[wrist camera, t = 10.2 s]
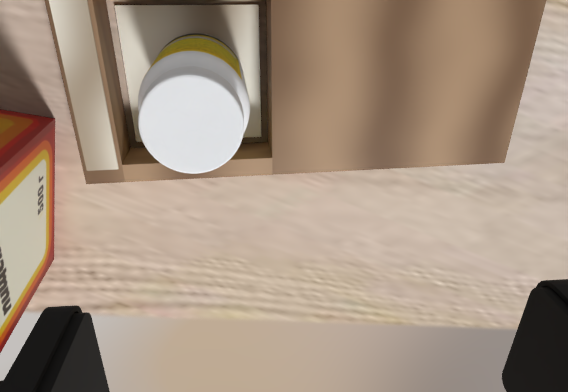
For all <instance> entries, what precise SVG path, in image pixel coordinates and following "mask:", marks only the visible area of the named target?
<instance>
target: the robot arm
mask: <svg viewBox="0 0 568 392" xmlns="http://www.w3.org/2000/svg"><path fill="white" fill-rule="evenodd" d="M502 380H503V385H504V388H505V389H506V391H507V392H568V279H564V280H546V281H541V282H540V283H538V285H537V287H536V288H534V289H533V290H532V291H531V293H530V295H529V298H528V301H527V304H526V307H525V310H524V312H523V315H522V318H521V321H520V324H519V327H518V330H517V332H516V335H515V338H514V341H513V344H512V347H511V350H510V353H509V355H508V358H507V361H506V364H505V367H504V370H503V373H502ZM0 392H109V388H108V384H107V380H106V375H105V371H104V367H103V363H102V359H101V355H100V351H99V347H98V343H97V338H96V334H95V330H94V326H93V323H92V318H91V315H90V314H89V313H82V311H81V308H80V307H79V306H61V307H47V308H46V309H45V310H44V311H43V312H42V314H41V315H40V317H39V319H38V321H37V323H36V324H35V326H34V328H33V330H32V331H31V333H30V335H29V337H28V339H27V340H26V342H25V344H24V346H23V347H22V349H21V351H20V353H19V354H18V356H17V358H16V360H15V362H14V363H13V365H12V367H11V369H10V370H9V373H8V374H7V376H6V377H5V379H4V380H3V381H0Z"/></svg>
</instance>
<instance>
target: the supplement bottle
mask: <svg viewBox="0 0 568 392" xmlns="http://www.w3.org/2000/svg"><path fill="white" fill-rule="evenodd" d="M138 110H139V115H138V127H139V132H140V136H141V139H142V141H143V143H144V145H145V147H146V148H147V150H148V151H149V152H150V154H151V155H152V156H153V157H154V158H155V159H156V160H157V161H159V162H160V163H161V164H163V165H164V166H166V167H168V168H170V169H173V170H175V171H178V172H183V173H191V174H197V173H204V172H208V171H212V170H214V169H217V168H219V167H220V166H222V165H223V164H225V163H226V162H227V161H229V160H230V159H231V158H232V156H233V155H234V154H235V153H236V151H237V150H238V148H239V146H240V144H241V141H242V138H243V134H244V132H245V130H246V128H247V125H248V121H249V115H250V100H249V95H248V91H247V87H246V83H245V78H244V73H243V70H242V66H241V63H240V61H239V59H238V57H237V56H236V54H235V53H234V51H233V50H232V49H231V48H230V47H229V46H228V45H227V44H226V43H225V42H223V41H222V40H220V39H219V38H217V37H215V36H212V35H209V34H205V33H189V34H185V35H181V36H179V37H177V38H175V39H174V40H172V41H170V42H169V43H168V44H167V45H166V46H165V47H164V48H163V49H162V50H161V52H160V53H159V55H158V57H157V58H156V60H155V61H154V63H153V64H152V65H151V67H150V68H149V70H148V71H147V73H146V74H145V76H144V78H143V80H142V83H141V86H140V90H139V95H138Z"/></svg>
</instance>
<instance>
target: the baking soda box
mask: <svg viewBox="0 0 568 392" xmlns="http://www.w3.org/2000/svg"><path fill="white" fill-rule="evenodd" d="M54 179H55V119H54V118H48V117H42V116H36V115H31V114H25V113H19V112H13V111H7V110H1V109H0V353H1V351H2V349H3V347H4V346H5V344H6V342H7V340H8V339H9V337H10V335H11V333H12V331H13V330H14V328H15V326H16V325H17V323H18V321H19V319H20V318H21V316H22V314H23V312H24V311H25V309H26V307H27V305H28V304H29V302H30V300H31V298H32V297H33V295H34V293H35V291H36V290H37V288H38V286H39V284H40V283H41V281H42V279H43V277H44V276H45V274H46V272H47V270H48V269H49V267H50V265H51V263H52V262H53V260H54Z"/></svg>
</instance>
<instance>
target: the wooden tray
mask: <svg viewBox="0 0 568 392" xmlns="http://www.w3.org/2000/svg"><path fill="white" fill-rule="evenodd" d="M545 3H546V0H266V41H267V116H268V142H262V143H241V144H240V146H239V148H238V150H237V151H236V153H235V154H234V155H233V156H232V158H231V159H230V160H229V161H227V162H226V163H225V164H223V165H222V166H220V167H219V168H217V169H214V170H212V171H208V172H204V173H197V174H191V173H183V172H178V171H175V170H173V169H170V168H168V167H166V166H164V165H163V164H161V163H160V162H159V161H157V160H156V159H155V158H154V157H153V156H152V155H151V154H150V152H149V151H148V150H147V148H146V147H143V148H130V142H129V136H128V130H127V124H126V118H125V112H124V106H123V100H122V94H121V88H120V82H119V76H118V71H117V65H116V59H115V53H114V47H113V41H112V35H111V29H110V23H109V17H108V11H107V5H106V0H45V4H46V8H47V12H48V17H49V21H50V26H51V30H52V34H53V39H54V43H55V48H56V52H57V57H58V61H59V65H60V70H61V74H62V79H63V83H64V87H65V92H66V96H67V101H68V105H69V109H70V114H71V118H72V123H73V127H74V131H75V136H76V140H77V145H78V149H79V153H80V158H81V162H82V167H83V171H84V175H85V180H86V184H96V183H116V182H135V181H155V180H175V179H194V178H214V177H233V176H253V175H273V174H292V173H312V172H331V171H351V170H371V169H390V168H410V167H430V166H449V165H469V164H488V163H504V162H505V158H506V154H507V150H508V147H509V143H510V139H511V135H512V131H513V127H514V123H515V119H516V115H517V112H518V108H519V104H520V100H521V96H522V92H523V88H524V84H525V81H526V77H527V73H528V69H529V65H530V61H531V57H532V53H533V49H534V46H535V42H536V38H537V34H538V30H539V26H540V22H541V18H542V15H543V11H544V7H545ZM114 6H115V12H116V18H117V25H118V31H119V37H120V43H121V50H122V56H123V62H124V68H125V74H126V81H127V87H128V93H129V99H130V106H131V112H132V118H133V124H134V131H135V137H136V142H143V141H142V139H141V136H140V132H139V127H138V115H139V110H138V95H139V90H140V86H141V83H142V80H143V78H144V76H145V74H146V73H147V71H148V70H149V68H150V67H151V65H152V64H153V63H154V61H155V60H156V58H157V57H158V55H159V53H160V52H161V50H162V49H163V48H164V47H165V46H166V45H167V44H168V43H169V42H170V41H172V40H174V39H175V38H177V37H179V36H181V35H185V34H189V33H205V34H209V35H212V36H215V37H217V38H219V39H220V40H222V41H223V42H225V43H226V44H227V45H228V46H229V47H230V48H231V49H232V50H233V51H234V53H235V54H236V56H237V57H238V59H239V61H240V63H241V66H242V70H243V73H244V78H245V83H246V87H247V91H248V95H249V100H250V115H249V121H248V125H247V128H246V130H245V132H244V134H243V137H261V101H260V52H259V5H114Z"/></svg>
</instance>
